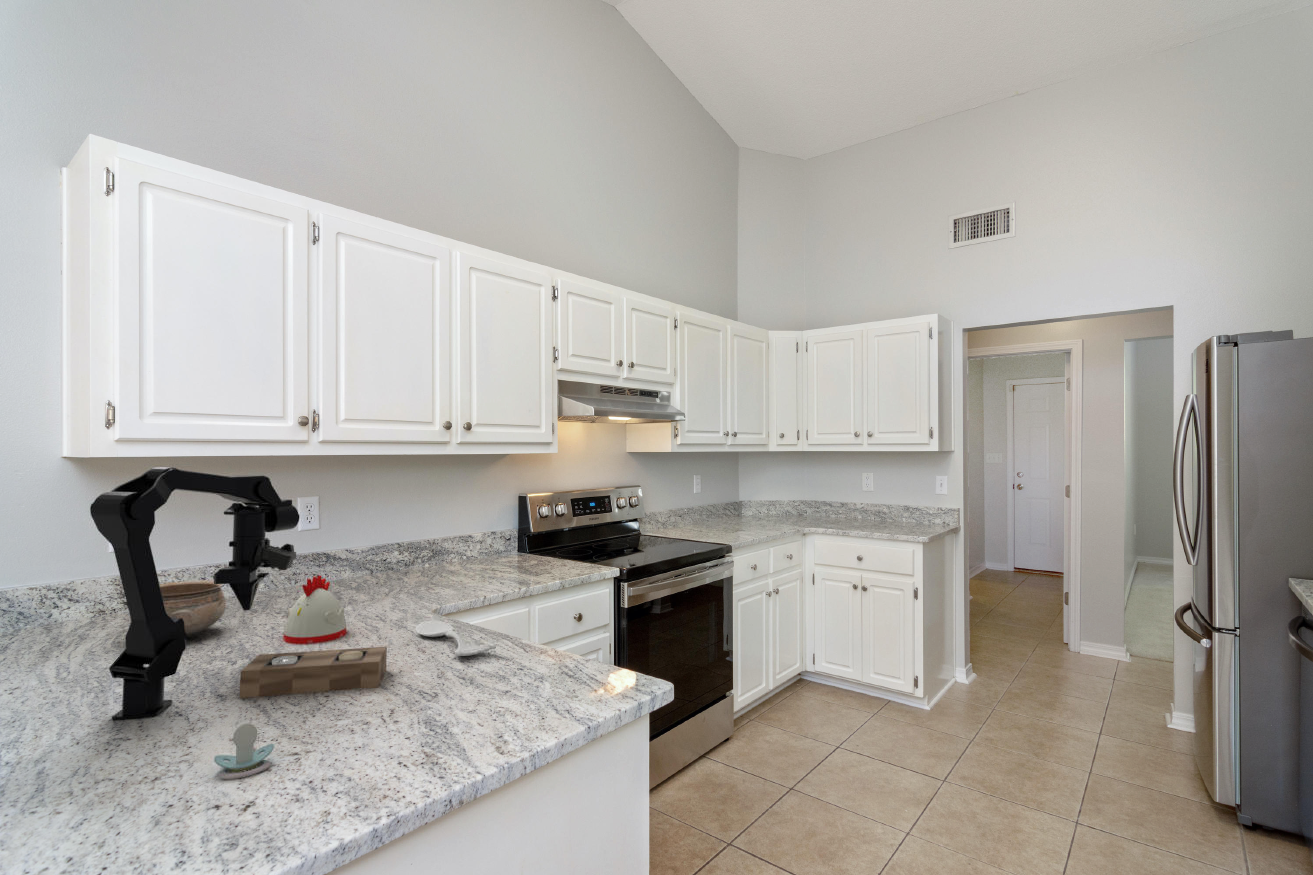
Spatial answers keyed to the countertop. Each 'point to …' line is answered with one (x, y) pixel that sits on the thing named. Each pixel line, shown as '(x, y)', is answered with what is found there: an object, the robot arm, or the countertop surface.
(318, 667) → the walnut block
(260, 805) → the countertop surface
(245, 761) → the pacifier
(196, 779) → the countertop surface
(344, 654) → the birch peg
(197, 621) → the cooking pot
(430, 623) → the spoon
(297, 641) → the kitchen timer
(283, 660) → the steel peg
